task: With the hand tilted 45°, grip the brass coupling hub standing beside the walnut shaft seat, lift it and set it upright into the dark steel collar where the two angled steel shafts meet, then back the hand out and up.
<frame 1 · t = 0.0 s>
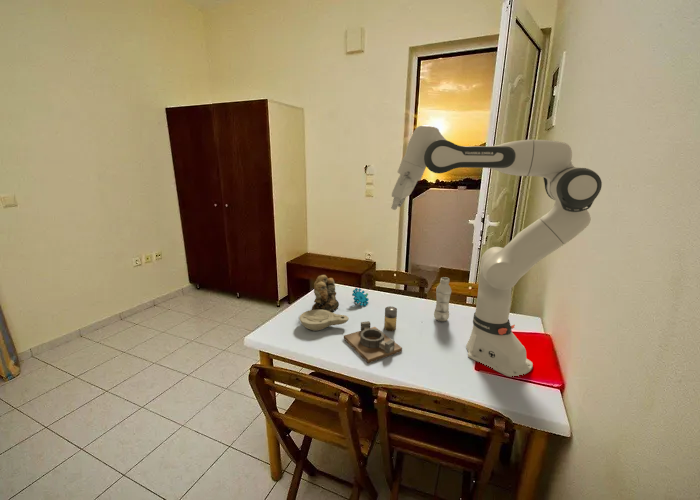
hand: (396, 207, 114), 52 cm above the table, tool tilted 20°, fingers open, 8 cm apart
teal virus model: (360, 304, 155), on the table
oil lamp: (324, 326, 132), on the table
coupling: (390, 328, 131), on the table
shaft seat: (371, 344, 118), on the table
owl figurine: (325, 308, 149), on the table
plastic bottle: (440, 320, 139), on the table
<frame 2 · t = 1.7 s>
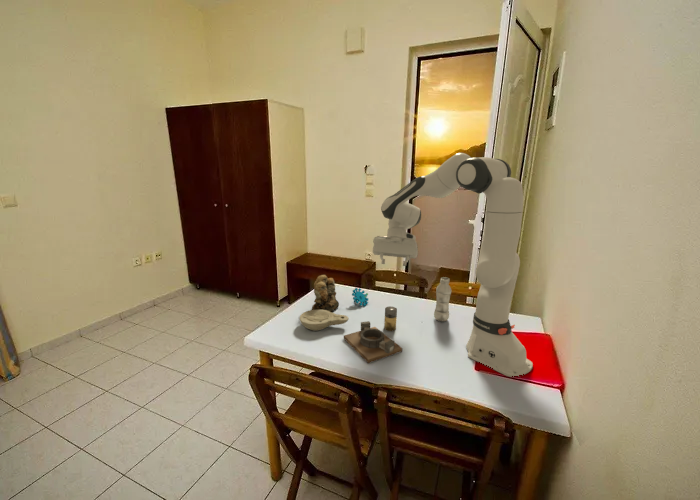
hand: (393, 264, 136), 25 cm above the table, tool tilted 45°, fingers open, 8 cm apart
nothing on the table moved.
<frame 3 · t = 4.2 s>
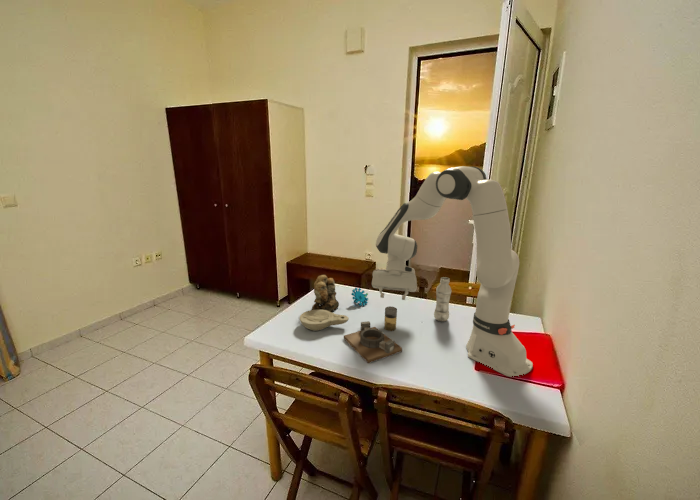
hand: (392, 298, 135), 11 cm above the table, tool tilted 45°, fingers open, 8 cm apart
nothing on the table moved.
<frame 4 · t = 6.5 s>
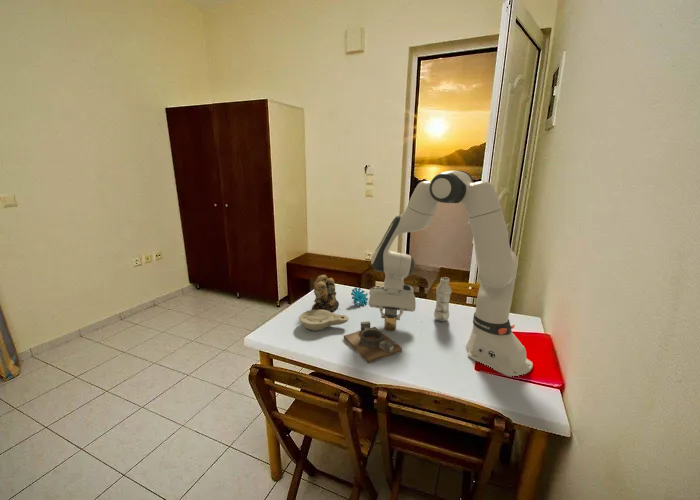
hand: (390, 318, 129), 5 cm above the table, tool tilted 45°, fingers closed on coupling, 5 cm apart
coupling: (390, 328, 131), on the table, touching gripper
everything else where it was.
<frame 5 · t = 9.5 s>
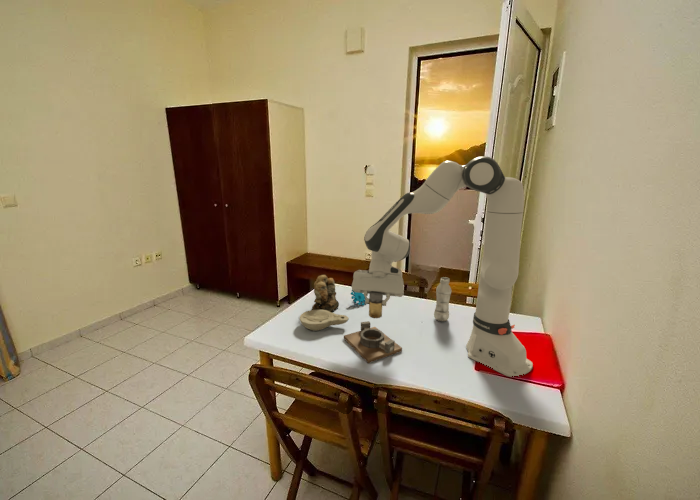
hand: (375, 304, 115), 16 cm above the table, tool tilted 45°, fingers closed on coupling, 5 cm apart
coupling: (375, 315, 117), point 12 cm above the table, touching gripper
when the fingers open (8 cm above the table, at t = 12.3 s): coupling drops 1 cm, resting on shaft seat.
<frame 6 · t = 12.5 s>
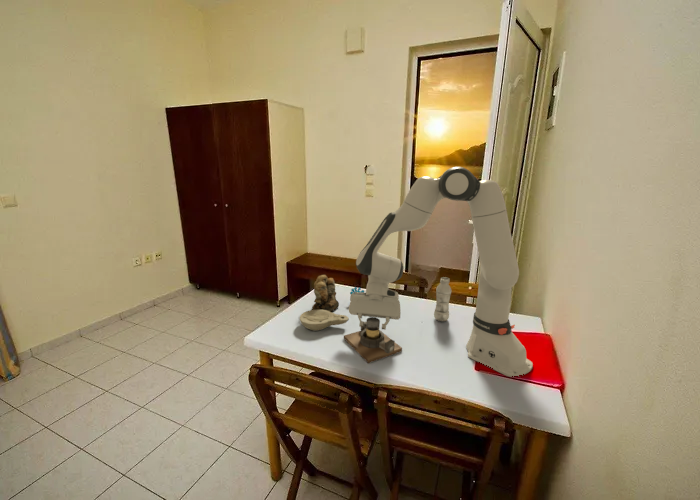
hand: (372, 327, 116), 8 cm above the table, tool tilted 45°, fingers open, 7 cm apart
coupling: (372, 341, 118), point 2 cm above the table, touching shaft seat
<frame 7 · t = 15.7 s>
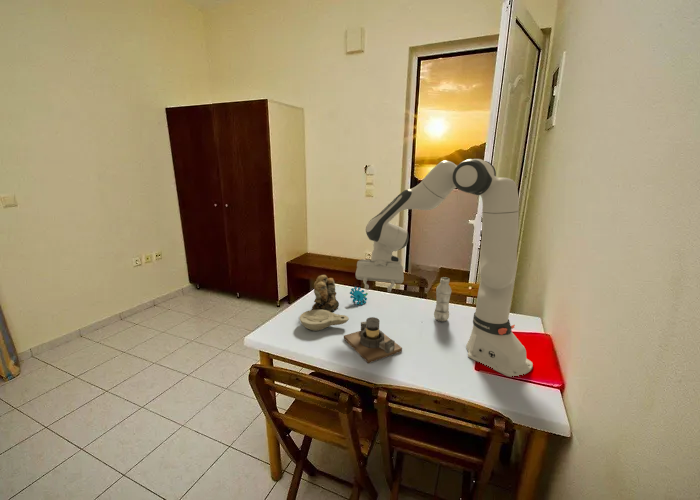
hand: (377, 290, 125), 18 cm above the table, tool tilted 45°, fingers open, 8 cm apart
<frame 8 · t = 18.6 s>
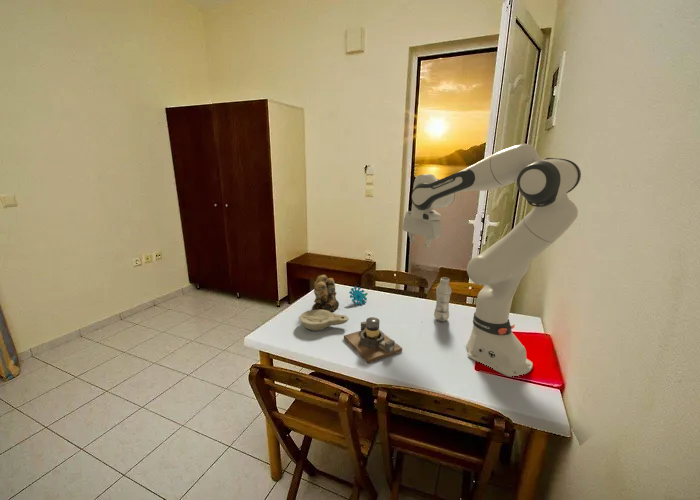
hand: (419, 244, 134), 34 cm above the table, tool pointing down, fingers open, 8 cm apart
at the end: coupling 0.0 cm off-centre on the shaft seat, point 1.5 cm above the shaft seat's base; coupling tilted 0°; the gripper is holding nothing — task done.
